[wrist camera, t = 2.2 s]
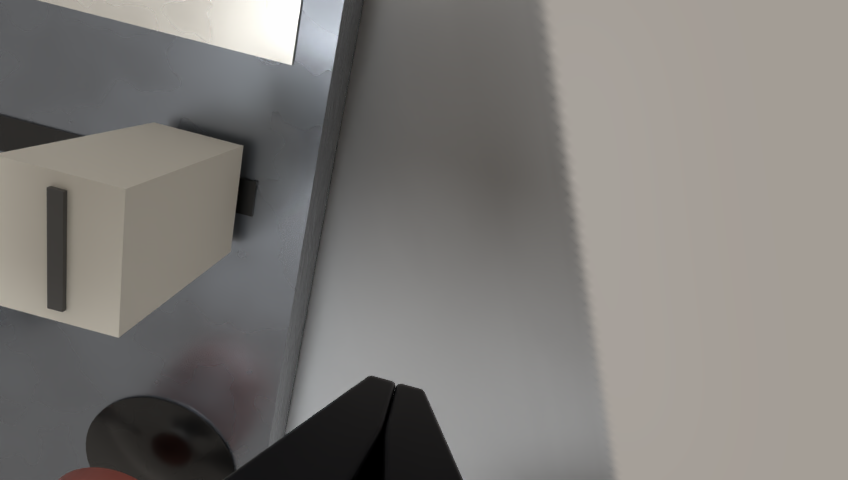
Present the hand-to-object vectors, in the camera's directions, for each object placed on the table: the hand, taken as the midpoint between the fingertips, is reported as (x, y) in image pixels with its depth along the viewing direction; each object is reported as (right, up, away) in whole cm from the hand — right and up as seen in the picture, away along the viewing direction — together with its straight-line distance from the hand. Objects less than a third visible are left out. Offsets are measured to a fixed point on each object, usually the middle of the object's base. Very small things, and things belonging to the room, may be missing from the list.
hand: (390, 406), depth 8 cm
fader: (-6, +4, +6) cm, 9 cm away
